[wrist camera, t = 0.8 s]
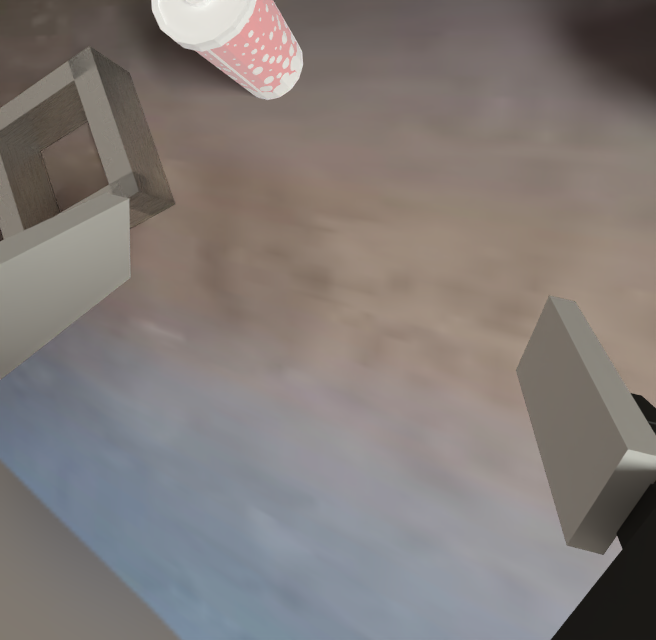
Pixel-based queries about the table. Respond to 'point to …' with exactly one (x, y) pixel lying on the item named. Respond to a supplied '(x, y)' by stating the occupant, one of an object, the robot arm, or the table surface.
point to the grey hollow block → (63, 117)
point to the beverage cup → (237, 40)
